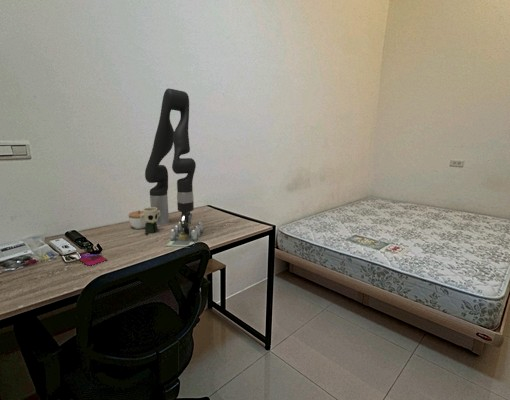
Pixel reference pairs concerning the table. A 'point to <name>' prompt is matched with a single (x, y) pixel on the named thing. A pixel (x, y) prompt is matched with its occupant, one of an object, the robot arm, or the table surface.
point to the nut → (183, 236)
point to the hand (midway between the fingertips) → (186, 235)
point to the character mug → (150, 219)
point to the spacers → (178, 229)
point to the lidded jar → (136, 220)
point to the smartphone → (91, 258)
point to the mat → (181, 243)
